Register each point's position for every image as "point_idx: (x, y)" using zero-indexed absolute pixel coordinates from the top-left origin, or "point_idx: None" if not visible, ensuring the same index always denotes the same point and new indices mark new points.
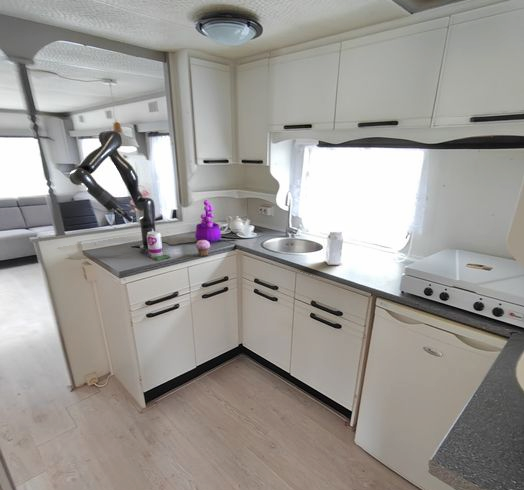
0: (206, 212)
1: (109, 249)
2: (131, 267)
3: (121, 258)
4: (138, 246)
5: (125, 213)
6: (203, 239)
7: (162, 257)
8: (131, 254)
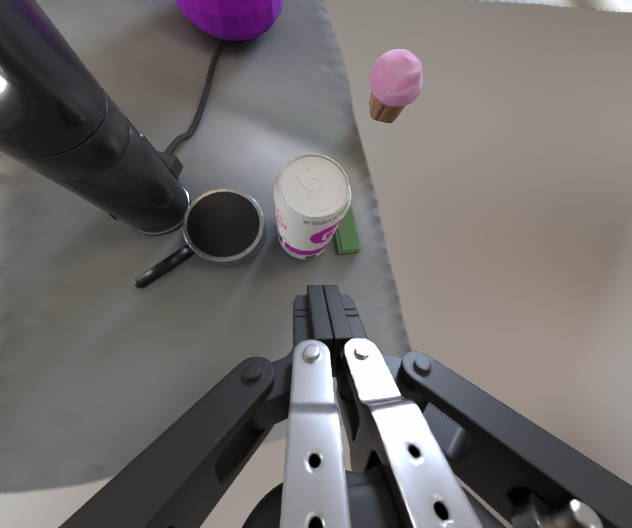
0: None
1: (49, 380)
2: None
3: None
4: (177, 261)
5: (506, 421)
6: (263, 26)
7: (354, 228)
8: (217, 309)
